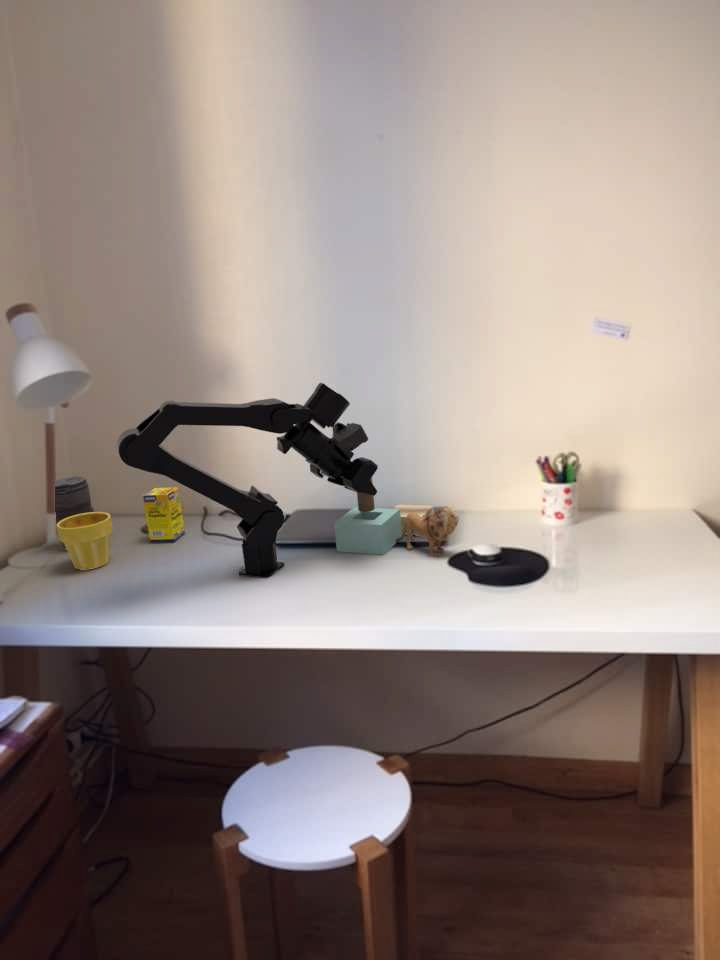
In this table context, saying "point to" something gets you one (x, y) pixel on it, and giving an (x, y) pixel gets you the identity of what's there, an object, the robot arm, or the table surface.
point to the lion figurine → (430, 528)
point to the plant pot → (86, 538)
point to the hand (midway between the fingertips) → (371, 491)
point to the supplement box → (163, 515)
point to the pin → (365, 501)
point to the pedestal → (417, 509)
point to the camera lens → (71, 498)
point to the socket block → (368, 531)
